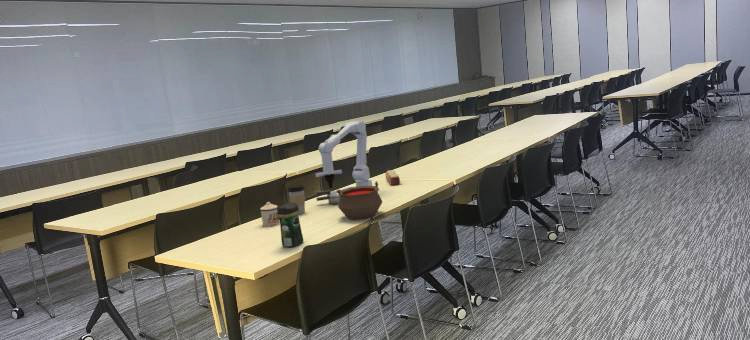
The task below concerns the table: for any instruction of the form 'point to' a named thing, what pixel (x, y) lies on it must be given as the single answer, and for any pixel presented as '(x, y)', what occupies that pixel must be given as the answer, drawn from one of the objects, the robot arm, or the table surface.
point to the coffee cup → (297, 197)
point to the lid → (328, 193)
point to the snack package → (392, 178)
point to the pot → (329, 199)
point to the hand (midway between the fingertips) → (330, 187)
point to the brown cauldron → (359, 201)
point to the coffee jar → (290, 225)
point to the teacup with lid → (269, 215)
